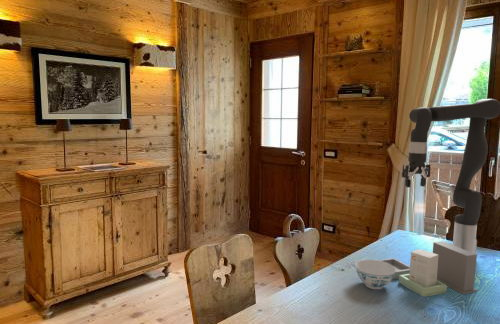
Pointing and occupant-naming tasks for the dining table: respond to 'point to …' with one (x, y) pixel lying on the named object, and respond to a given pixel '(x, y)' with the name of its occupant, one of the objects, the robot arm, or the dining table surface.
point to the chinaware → (375, 273)
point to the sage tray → (421, 290)
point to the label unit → (455, 267)
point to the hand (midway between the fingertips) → (415, 186)
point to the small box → (423, 268)
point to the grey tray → (397, 267)
